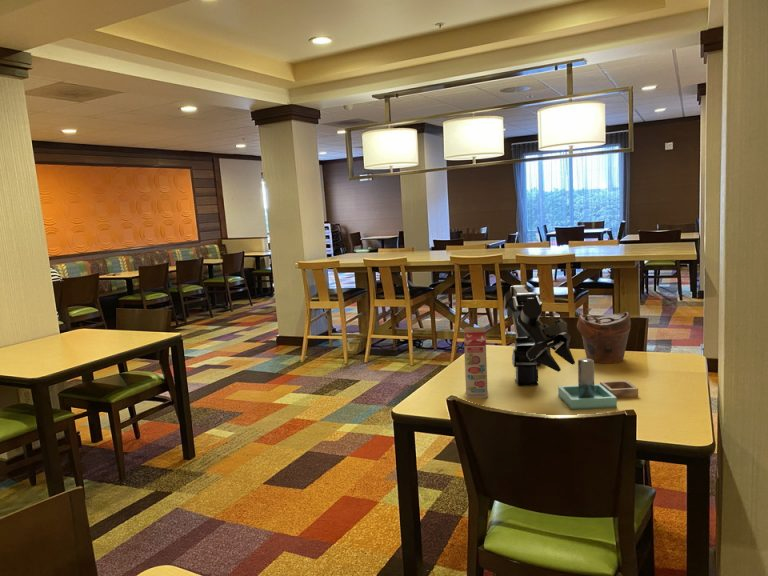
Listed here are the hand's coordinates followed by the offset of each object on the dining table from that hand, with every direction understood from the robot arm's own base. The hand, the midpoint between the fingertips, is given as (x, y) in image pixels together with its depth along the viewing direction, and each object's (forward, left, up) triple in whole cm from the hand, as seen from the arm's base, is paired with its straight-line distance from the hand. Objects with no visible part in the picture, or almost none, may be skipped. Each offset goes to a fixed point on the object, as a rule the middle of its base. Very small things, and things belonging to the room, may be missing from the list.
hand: (567, 367), depth 180 cm
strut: (+4, -4, -9) cm, 11 cm away
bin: (+4, -5, -9) cm, 11 cm away
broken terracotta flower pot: (+26, +40, -10) cm, 49 cm away
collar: (+16, +1, -9) cm, 19 cm away
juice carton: (-27, +7, -10) cm, 29 cm away
